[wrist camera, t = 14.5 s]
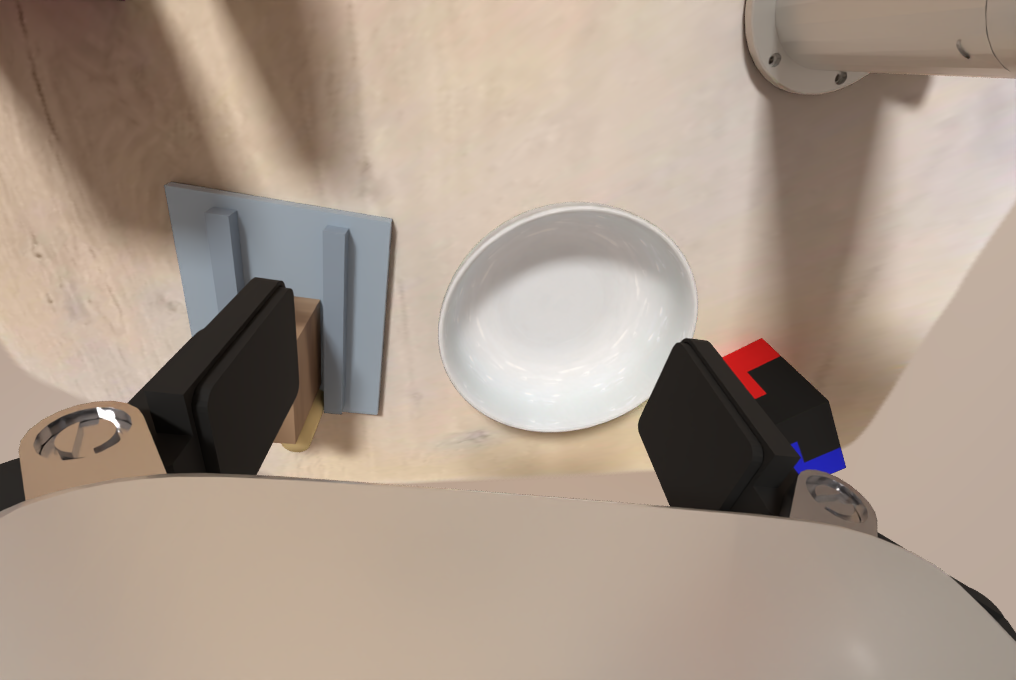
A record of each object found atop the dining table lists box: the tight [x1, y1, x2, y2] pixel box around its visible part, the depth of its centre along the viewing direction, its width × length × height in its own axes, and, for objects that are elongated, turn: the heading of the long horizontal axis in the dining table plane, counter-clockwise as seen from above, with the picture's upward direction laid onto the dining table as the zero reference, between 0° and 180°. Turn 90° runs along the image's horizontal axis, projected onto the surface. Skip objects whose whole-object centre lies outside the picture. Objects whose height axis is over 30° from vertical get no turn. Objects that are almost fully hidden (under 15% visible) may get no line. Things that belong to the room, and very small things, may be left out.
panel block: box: [273, 296, 321, 444], centre depth 37 cm, size 5×9×9 cm, turn 169°
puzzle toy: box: [722, 338, 846, 474], centre depth 46 cm, size 10×10×10 cm
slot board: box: [164, 182, 392, 452], centre depth 37 cm, size 16×20×7 cm
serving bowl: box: [438, 202, 698, 432], centre depth 39 cm, size 21×21×7 cm
